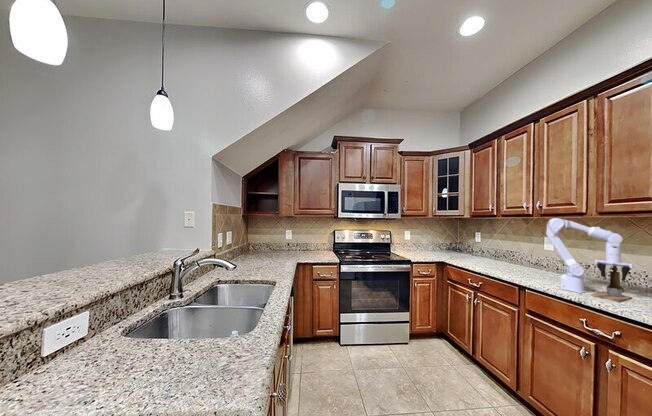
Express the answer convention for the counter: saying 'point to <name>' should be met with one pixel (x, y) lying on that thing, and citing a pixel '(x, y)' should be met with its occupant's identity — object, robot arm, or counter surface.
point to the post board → (605, 296)
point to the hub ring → (614, 292)
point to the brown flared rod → (615, 279)
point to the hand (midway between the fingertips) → (613, 278)
